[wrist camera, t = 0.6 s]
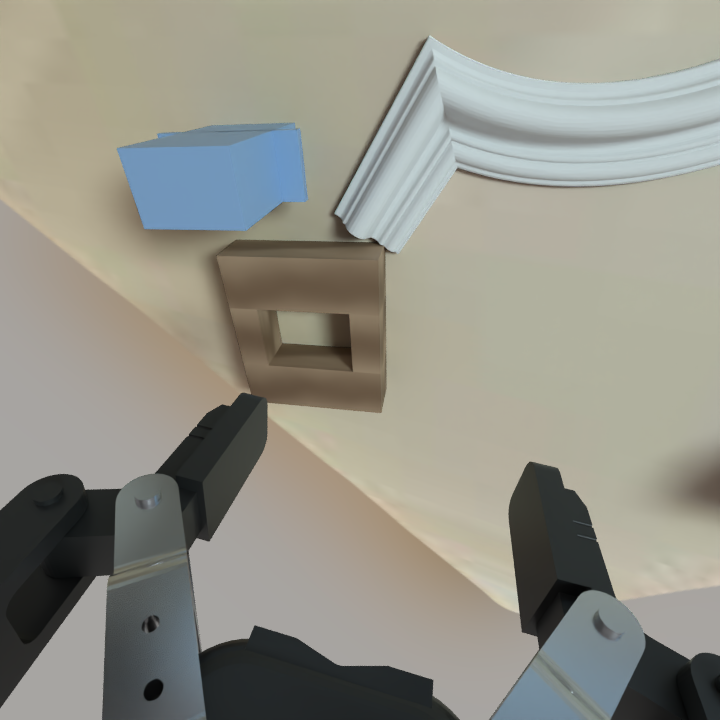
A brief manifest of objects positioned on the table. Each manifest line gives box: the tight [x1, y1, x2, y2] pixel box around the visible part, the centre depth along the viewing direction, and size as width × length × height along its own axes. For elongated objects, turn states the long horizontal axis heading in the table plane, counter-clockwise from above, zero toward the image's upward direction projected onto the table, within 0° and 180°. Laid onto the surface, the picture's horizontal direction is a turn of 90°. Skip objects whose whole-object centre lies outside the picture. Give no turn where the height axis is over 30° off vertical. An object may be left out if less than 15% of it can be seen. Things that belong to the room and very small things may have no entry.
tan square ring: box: [216, 240, 386, 413], centre depth 35 cm, size 14×12×4 cm
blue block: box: [117, 123, 308, 231], centre depth 25 cm, size 4×9×10 cm, turn 93°
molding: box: [335, 35, 720, 254], centre depth 22 cm, size 42×12×3 cm, turn 105°
